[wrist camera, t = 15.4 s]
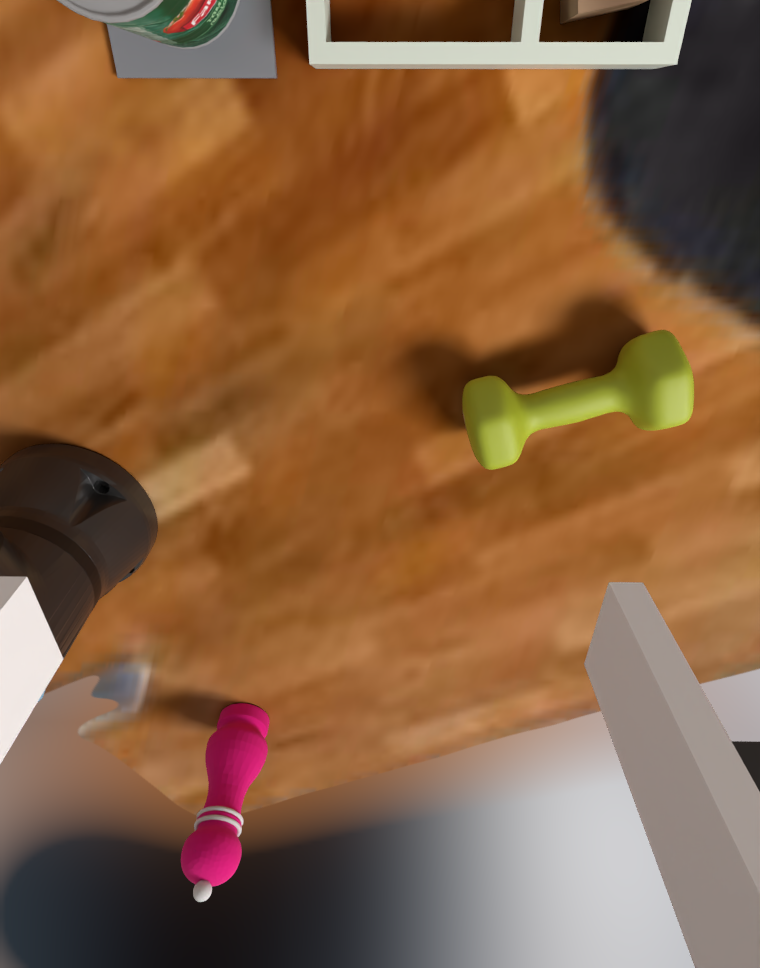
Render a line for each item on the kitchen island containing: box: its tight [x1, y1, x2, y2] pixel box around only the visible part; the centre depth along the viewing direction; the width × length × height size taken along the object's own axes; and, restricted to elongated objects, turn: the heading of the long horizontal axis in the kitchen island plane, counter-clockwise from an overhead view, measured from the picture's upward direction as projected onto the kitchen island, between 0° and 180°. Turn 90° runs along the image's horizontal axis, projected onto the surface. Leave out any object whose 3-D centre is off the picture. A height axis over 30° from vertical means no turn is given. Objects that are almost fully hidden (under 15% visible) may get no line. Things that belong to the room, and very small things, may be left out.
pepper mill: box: [181, 703, 269, 902], centre depth 63 cm, size 7×7×20 cm
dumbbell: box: [462, 330, 694, 470], centre depth 44 cm, size 16×8×7 cm, turn 106°
